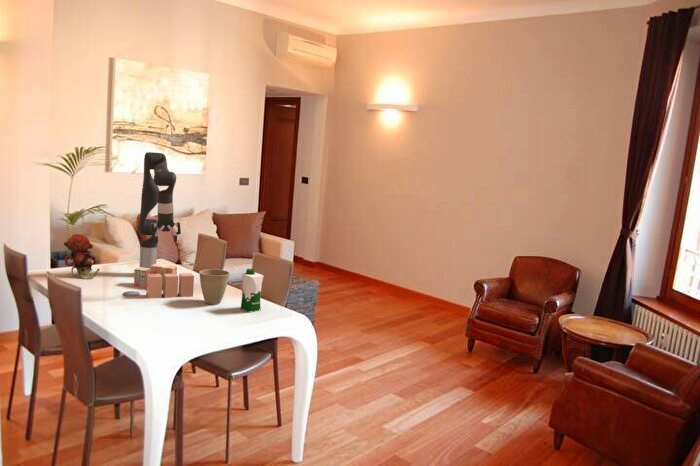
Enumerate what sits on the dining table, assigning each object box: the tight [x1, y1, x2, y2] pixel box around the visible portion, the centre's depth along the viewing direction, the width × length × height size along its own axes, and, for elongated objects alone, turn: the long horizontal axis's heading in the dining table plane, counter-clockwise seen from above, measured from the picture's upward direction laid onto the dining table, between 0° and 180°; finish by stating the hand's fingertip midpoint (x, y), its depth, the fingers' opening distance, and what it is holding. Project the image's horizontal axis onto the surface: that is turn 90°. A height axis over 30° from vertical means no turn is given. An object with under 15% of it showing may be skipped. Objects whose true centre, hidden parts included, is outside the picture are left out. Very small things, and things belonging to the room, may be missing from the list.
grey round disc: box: [122, 290, 141, 297], centre depth 283 cm, size 8×8×1 cm
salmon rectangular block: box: [162, 273, 179, 299], centre depth 286 cm, size 6×6×11 cm
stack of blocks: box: [133, 263, 178, 290], centre depth 300 cm, size 21×6×12 cm, turn 85°
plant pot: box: [198, 268, 230, 306], centre depth 280 cm, size 15×15×16 cm
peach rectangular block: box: [178, 272, 195, 298], centre depth 289 cm, size 6×6×11 cm
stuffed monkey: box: [63, 233, 101, 280], centre depth 304 cm, size 15×17×25 cm
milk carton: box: [240, 268, 265, 312], centre depth 275 cm, size 9×9×20 cm
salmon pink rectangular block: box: [146, 274, 163, 299], centre depth 282 cm, size 6×6×11 cm
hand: (165, 242), depth 280 cm, fingers open, 8 cm apart
